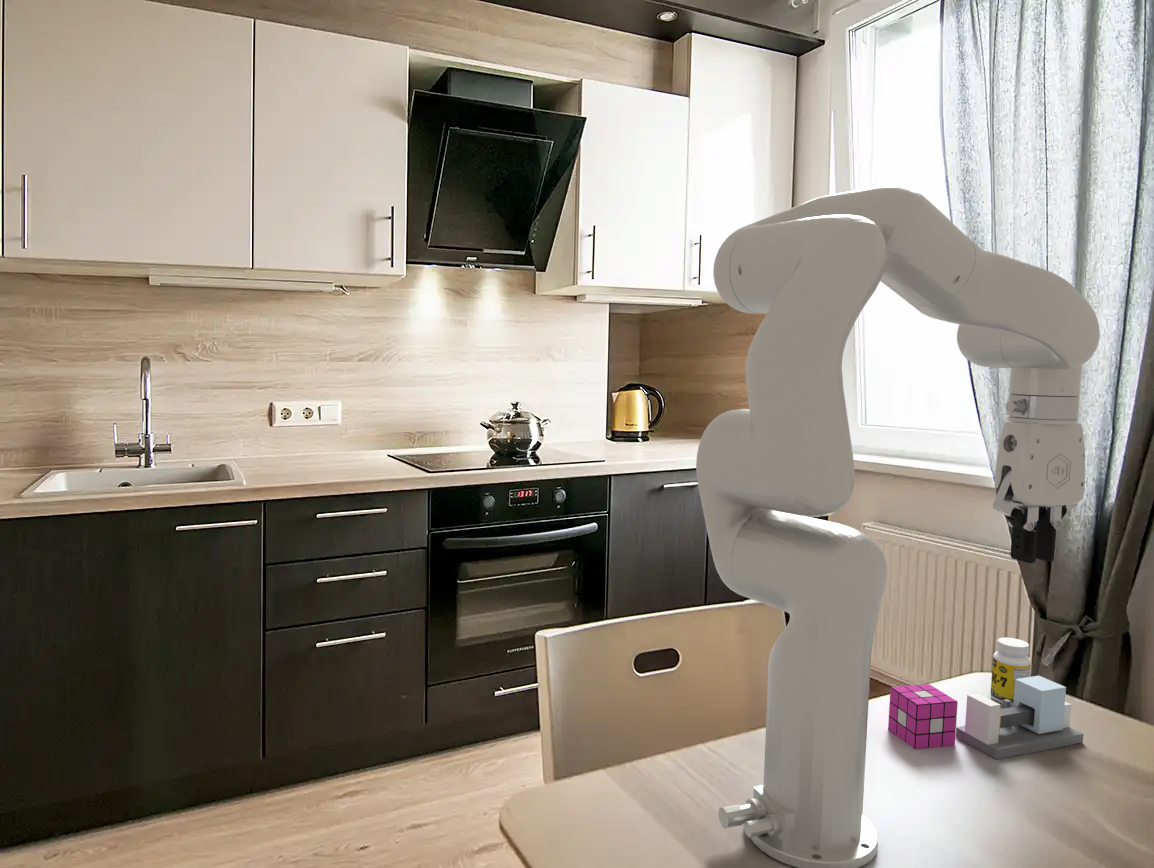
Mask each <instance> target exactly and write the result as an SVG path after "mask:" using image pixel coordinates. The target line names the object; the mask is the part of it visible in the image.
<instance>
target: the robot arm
mask: <svg viewBox="0 0 1154 868" xmlns="http://www.w3.org/2000/svg"><path fill="white" fill-rule="evenodd" d="M712 272H713V274H712V275H713V280H714V281H713V282H714V285H715V287H716V288H715V289H716V290H717V292H718V294H719V296H720V297H721V299H722V300H723V301H724V302H725V304H726V305H728V306H730V308H732V309H734V310H736V311H738V312H741V313H746V314H751V315H762V314H763V315H764V314H765V316H764V318H763V320H762V321H761V323H760V325H759V327H758V328H757V330H756V333H755V335H753V336H754V337H753V339H752V340H751V343H750V346H749V349H748V352H747V355H746V360H745V370H744V371H745V374H744V375H745V384H746V392H747V400H748V408H739V409H731V410H727V411H725V412H723V413H721V414H719V415H717V416H716V417H715V418H714V419H713V420H711V421H710V423H709V424H708V425H707V426H706V428H705V430H704V431H703V433H702V435H701V437H700V439H699V445H698V448H697V452H696V453H697V454H696V460H695V461H696V462H695V463H696V464H695V469H696V479H697V486H698V492H699V496H700V497H699V498H700V501H701V507H702V512H703V517H704V521H705V528H706V532H707V537H708V542H709V547H710V550H711V551H710V552H711V556H712V560H713V563H714V566H715V569H716V572H717V574H718V575H719V577H720V579H721V581H722V582H723V584H724V585H726V587H727V588H729V590H730V591H732V592H734V593H735V594H737V595H740V596H742V597H744V598H747V599H750V600H753V601H755V602H758V603H761V604H764V605H767V606H770V607H773V608H776V609H778V610H780V611H783V612H785V613H787V614H789V621H788V623H787V625H786V627H784V629H783V631H782V632H781V633H780V634H779V636H778V638H777V639H776V640H775V642H774V644H773V646H772V648H771V650H770V654H769V657H768V666H767V695H766V717H765V740H764V741H765V743H764V744H765V745H764V760H763V761H764V768H763V784H760V785H757V786H753V797H752V798H748V799H747V800H745V803H740V804H731V805H726V806H721V807H719V809H718V820H719V823H720V825H721V827H723V829H729V828H736V827H739V826H743V829H744V833H745V834H746V836H747V837H748V838H749V839H750V840H751V841H752V843H753V844H754V845H755V846H756V847H758V849H760V850H761V851H762V852H763V853H765V854H766V855H768V856H769V857H771V858H773V859H774V860H776V861H779V862H781V863H783V864H786V865H789V866H792V867H794V868H861V867H863V866H865V865H867V864H868V863H869V862H871V861H872V860H873V859H874V857H875V856H876V855H877V853H878V847H879V844H878V843H879V835H878V832H877V829H876V828H875V826H874V825H873V822H871V820H869V819H868V818H867V817H866V816H865V815H864V814H863V811H864V810H863V809H864V794H865V793H864V792H865V791H864V790H865V773H866V758H867V757H866V755H867V754H866V753H867V740H868V739H867V738H868V737H867V736H868V720H869V719H868V717H869V701H870V699H869V698H870V678H871V677H870V676H871V675H870V674H871V663H872V652H873V651H872V650H873V643H874V637H875V632H876V631H875V630H876V626H877V622H878V618H879V613H880V609H881V605H882V604H883V603H882V602H883V599H884V595H885V590H886V586H887V581H888V580H887V579H888V568H887V567H888V566H887V561H886V557H885V555H884V553H883V550H882V549H881V548H880V547H879V545H878V544H877V543H876V542H875V540H874V539H872V538H871V537H870V536H869V535H867V534H866V533H864V532H862V531H860V530H858V529H856V528H854V527H851V526H848V525H846V524H841V523H838V522H834V521H829V520H825V519H819V517H826V516H827V517H828V516H830V515H833V514H835V513H837V512H839V511H841V510H842V509H844V508H845V507H846V505H847V504H848V503H849V502H850V500H851V499H852V496H853V493H854V490H855V489H854V487H855V481H856V480H855V477H856V475H855V474H856V471H855V461H854V452H853V447H852V441H851V440H852V439H851V432H850V427H849V426H850V425H849V417H848V412H847V411H848V410H847V406H846V405H847V404H846V397H845V390H844V379H843V366H842V365H843V355H844V351H845V348H846V344H847V340H848V338H849V336H850V333H851V331H852V329H853V327H854V326H855V324H856V321H857V320H858V318H859V316H860V314H861V312H862V311H863V309H864V308H865V306H866V305H867V303H868V301H870V298H872V296H873V295H874V292H876V289H877V288H878V286H879V284H880V283H882V284H884V285H885V286H886V287H887V288H889V289H890V290H892V291H893V293H895V294H897V295H898V296H899V297H900V298H902V299H903V300H905V301H906V302H907V303H908V304H909V305H911V306H912V307H913V308H915V309H916V310H917V311H918V312H920V313H921V314H922V315H924V316H926V317H929V318H932V319H934V320H939V321H943V322H947V323H951V324H956V325H958V326H957V327H958V328H957V333H956V342H957V347H958V348H959V351H960V353H961V354H962V355H963V357H964V358H965V359H966V360H968V361H969V362H970V363H972V364H974V365H976V366H979V367H984V368H994V369H1010V372H1009V373H1010V374H1009V375H1010V376H1009V385H1008V386H1009V388H1008V393H1009V394H1008V401H1007V402H1006V404H1005V409H1006V411H1007V417H1006V420H1005V421H1004V424H1003V427H1002V431H1001V435H1000V441H999V444H998V450H997V456H996V457H997V458H996V462H995V472H994V473H995V474H994V494H995V498H994V501H993V503H992V509H993V510H994V511H996V512H999V513H1000V514H1002V515H1004V517H1005V518H1006V519H1007V521H1008V526H1009V527H1011V529H1012V530H1011V544H1010V557H1011V559H1012V560H1016V561H1019V562H1023V563H1027V564H1034V563H1035V562H1036V559H1037V560H1041V561H1044V562H1053V561H1054V560H1055V550H1056V538H1057V530H1058V529H1060V528H1061V525H1062V519H1063V518H1064V517H1065V516H1066V514H1067V513H1069V512H1070V511H1071V510H1073V509H1074V508H1076V507H1077V506H1078V504H1079V502H1081V501H1082V500H1083V499H1084V495H1085V486H1086V485H1085V484H1086V483H1085V482H1086V448H1085V447H1086V446H1085V436H1084V429H1083V424H1082V423H1081V422H1078V421H1079V410H1080V409H1079V407H1080V395H1081V381H1082V369H1083V368H1082V366H1083V365H1084V364H1086V363H1087V362H1088V361H1090V360H1091V358H1092V357H1093V356H1094V355H1095V352H1096V351H1097V348H1098V346H1099V343H1100V336H1101V335H1100V332H1101V331H1100V325H1099V319H1098V317H1097V315H1096V313H1095V310H1094V308H1093V307H1092V306H1091V304H1090V303H1089V302H1088V300H1087V299H1086V298H1085V297H1084V296H1083V294H1082V293H1080V292H1079V290H1078V289H1076V288H1075V286H1073V284H1071V283H1070V282H1069V281H1068V280H1066V279H1065V278H1063V277H1062V276H1060V275H1058V274H1055V273H1054V272H1052V271H1049V270H1048V269H1047V270H1046V269H1044V268H1042V267H1038V266H1036V265H1033V264H1029V263H1027V262H1023V261H1020V260H1017V259H1015V258H1012V257H1010V256H1007V255H1003V254H1001V253H998V252H994V251H990V250H986V249H983V248H981V247H979V246H978V245H977V244H976V243H975V242H974V241H973V240H972V239H971V238H970V237H968V236H967V235H966V234H965V233H964V232H963V231H962V230H961V229H960V228H959V227H957V226H956V225H955V224H954V223H953V222H952V221H951V220H950V219H949V217H947V216H946V215H945V214H944V213H943V212H942V211H940V209H939V208H938V207H937V206H935V205H933V203H932V202H931V201H930V200H929V199H927V198H926V197H925V196H924V195H923V194H922V193H920V192H919V191H917V190H915V189H913V188H911V187H909V186H903V185H896V184H895V185H893V184H892V185H880V186H874V187H869V188H862V189H857V190H850V191H844V192H839V193H834V194H828V195H824V196H821V197H816V198H813V199H810V200H808V201H806V202H803V203H800V204H798V205H795V206H794V207H791V208H788V209H786V210H783V211H781V212H778V213H776V214H772V215H770V216H768V217H765V218H763V219H760V220H757V221H755V222H752V223H750V224H747V225H745V226H742V227H740V228H738V229H736V230H735V231H734V232H732V233H731V234H730V235H729V236H727V237H726V239H725V240H724V241H723V242H722V244H721V245H720V247H719V248H718V250H717V253H716V256H715V259H714V263H713V271H712ZM1021 509H1024V511H1022V510H1021ZM815 517H816V518H815ZM817 517H818V518H817Z"/></svg>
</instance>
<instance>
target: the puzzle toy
mask: <svg viewBox="0 0 1154 868" xmlns="http://www.w3.org/2000/svg"><path fill="white" fill-rule="evenodd" d="M889 689H890V690H889V691H890V692H889V704H888V705H889V707H888V728H887V730H888V731H889V732H890V733H892V734H893V735H895V737H897V738H899V739H900V740H901V741H903V742H904V743H906V744H907V745H908V746H909V747H911V748H912V749H914V750H922V749H929V748H930V749H932V748H942V747H949V746H950V747H951V746H952V747H953V746H955V745H956V727H957V720H958V719H957V715H958V700H956V699H954V698H952V697H951V696H949V695H948V694H946V693H944V692H943V691H941V690H940V689H938V688H936V687H935V686H933V685H931V684H929V683H924V684H914V685H913V684H911V685H901V686H900V685H899V686H890V688H889Z"/></svg>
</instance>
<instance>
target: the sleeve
mask: <svg viewBox="0 0 1154 868" xmlns="http://www.w3.org/2000/svg"><path fill="white" fill-rule="evenodd" d="M1066 692H1067V686H1064V685H1062V684H1060V683H1057V682H1054V681H1053V680H1051V679H1048V678H1045V677H1043V676H1041V675H1034V676H1030V677H1026V678H1019V679H1015V688H1014V702H1013V706H1012V707H1016V706H1022V705H1028V706H1030V707H1032V708H1034V709H1035V714H1034V723H1028V724H1023V725H1022V726H1024V727H1026V728H1028V729H1030V730H1032V731H1034V732H1036V733H1038V734H1042V733H1047V732H1053V731H1058V730H1063V721H1064V708H1065V702H1066V694H1067V693H1066Z"/></svg>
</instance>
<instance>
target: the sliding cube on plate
mask: <svg viewBox="0 0 1154 868" xmlns="http://www.w3.org/2000/svg"><path fill="white" fill-rule="evenodd" d="M1011 703H1012V701H1010V700H1008V699H1005V700H1003V704H1002V708H1001V703H999V702H997V701H995V700H993V699H992V700H991V699H989V698H988V697H986V696H983V695H982V694H980V693H978V692H977V693H970V694H966V706H965V707H966V709H965V722H964V723H965V724H964V725H962V726H956V735H955V738H957V739H959V740H960V741H963V742H964V743H966V744H968V745H970V746H972V747H973V748H974V749H975V748H976V749H977V750H979V751H980V752H982V753H984V754H986V755H988V756H990V757H991V758H993V759H994V760H1000V759H1005V758H1012V757H1016V756H1022V755H1026V754H1032V753H1039V752H1043V751H1049V750H1052V749H1058V747H1059V748H1064V747H1063V746H1065V747H1069V746H1068V745H1070V746H1072V745H1071V744H1075V745H1077V744H1076V743H1080V744H1082V743H1081V742H1083V743H1084V733H1083V732H1081V731H1079V730H1077V729H1074V728H1073V727H1070V726H1071V725H1070V724H1071V723H1070V722H1071V713H1072V711H1071V710H1072V703H1069V702H1067V701H1065V708H1064V721H1063V730H1058V731H1053V732H1047V733H1042V734H1038V733H1036V732H1034V731H1032V730H1030V729H1028V728H1026V727H1024V726H1022V725H1023V724H1028V723H1034V714H1035V709H1034V708H1032V707H1030V706H1028V705H1022V706H1016V707H1013V706H1011Z"/></svg>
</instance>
